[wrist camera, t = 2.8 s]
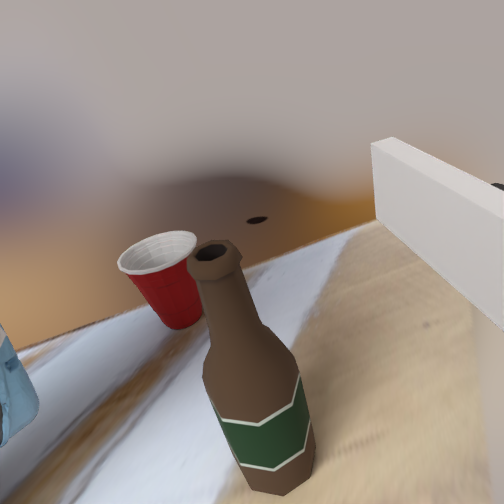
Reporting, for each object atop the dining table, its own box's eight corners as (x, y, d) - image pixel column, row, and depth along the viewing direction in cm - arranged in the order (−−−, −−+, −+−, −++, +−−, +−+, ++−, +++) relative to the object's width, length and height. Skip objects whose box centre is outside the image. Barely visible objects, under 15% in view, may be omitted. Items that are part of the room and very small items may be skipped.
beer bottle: (235, 430, 43) (158, 235, 31) (308, 414, 43) (261, 210, 31) (240, 509, 37) (145, 300, 24) (327, 490, 37) (277, 270, 24)
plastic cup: (213, 283, 66) (191, 218, 60) (224, 326, 57) (200, 254, 51) (147, 304, 66) (117, 240, 59) (147, 351, 56) (113, 281, 50)
